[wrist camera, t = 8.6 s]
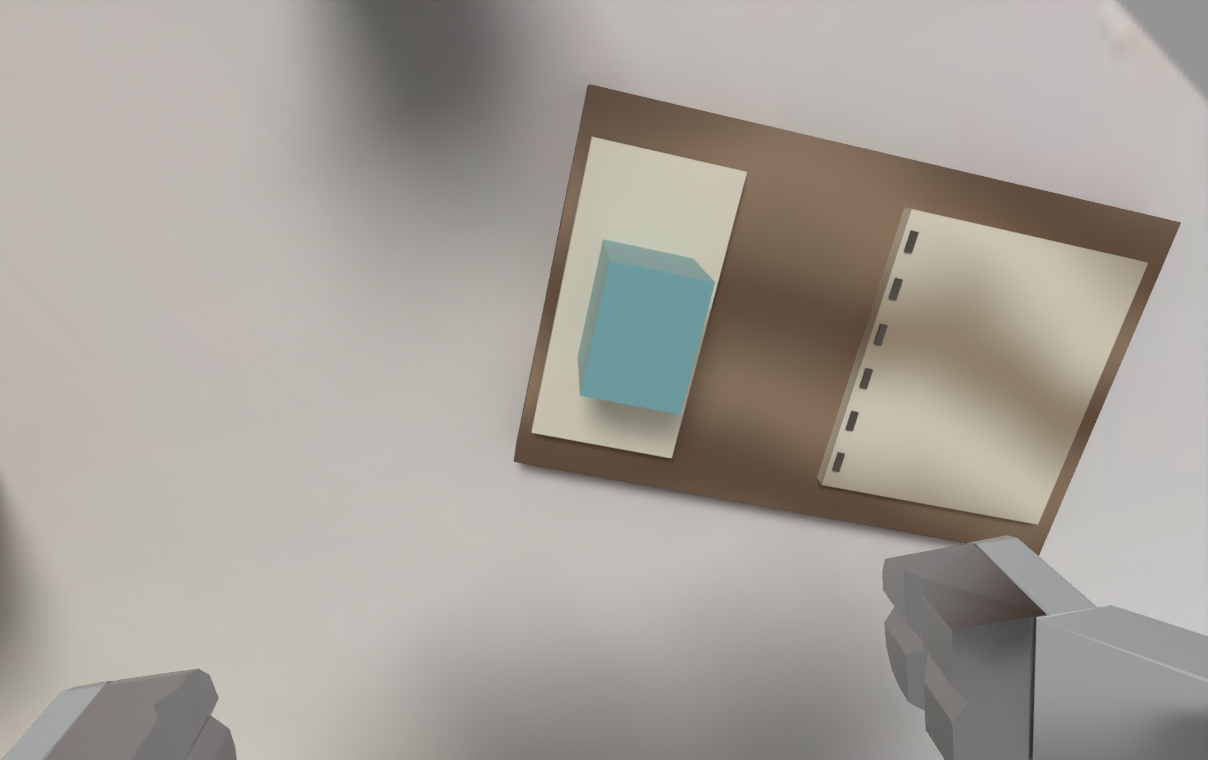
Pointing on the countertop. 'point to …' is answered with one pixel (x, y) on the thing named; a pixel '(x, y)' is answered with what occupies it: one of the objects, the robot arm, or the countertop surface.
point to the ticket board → (879, 333)
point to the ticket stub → (635, 297)
